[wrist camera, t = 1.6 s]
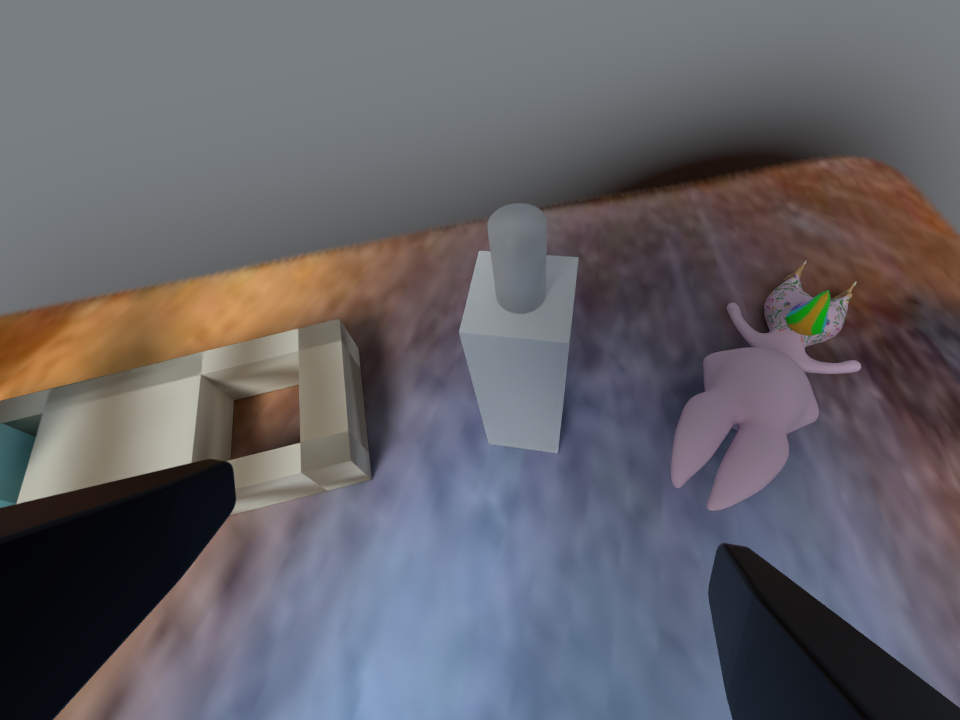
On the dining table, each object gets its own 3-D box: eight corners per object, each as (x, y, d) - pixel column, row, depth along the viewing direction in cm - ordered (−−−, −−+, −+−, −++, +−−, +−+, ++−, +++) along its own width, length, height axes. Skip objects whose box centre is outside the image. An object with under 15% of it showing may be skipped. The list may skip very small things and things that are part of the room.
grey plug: (557, 453, 23) (575, 278, 12) (488, 443, 23) (441, 268, 12) (564, 390, 24) (586, 183, 13) (499, 383, 25) (468, 178, 14)
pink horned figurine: (743, 288, 28) (612, 468, 21) (797, 200, 23) (651, 394, 16) (857, 340, 26) (751, 564, 19) (942, 253, 21) (843, 510, 14)
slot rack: (358, 348, 27) (339, 318, 24) (371, 480, 23) (350, 460, 20) (-29, 443, 27) (-89, 422, 24) (-84, 593, 23) (-164, 587, 20)
